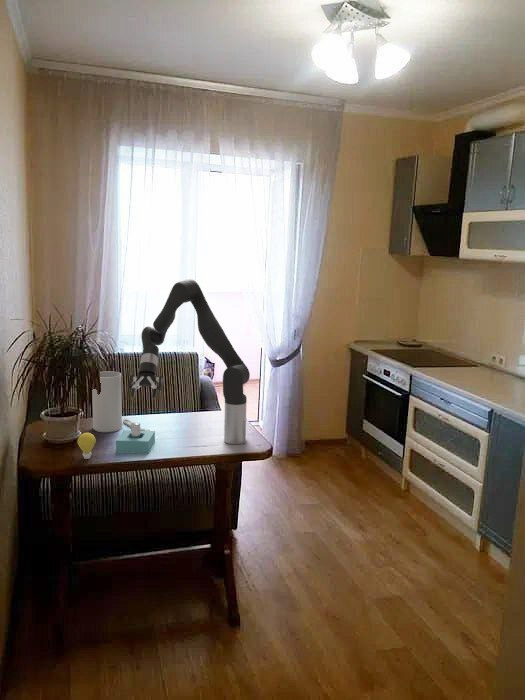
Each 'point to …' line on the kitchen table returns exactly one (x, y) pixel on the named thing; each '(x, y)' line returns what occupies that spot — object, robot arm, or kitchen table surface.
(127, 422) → the adjustable wrench
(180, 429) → the kitchen table surface
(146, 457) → the kitchen table surface
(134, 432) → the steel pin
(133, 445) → the socket block
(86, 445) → the light bulb
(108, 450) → the kitchen table surface
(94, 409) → the cylinder vase
